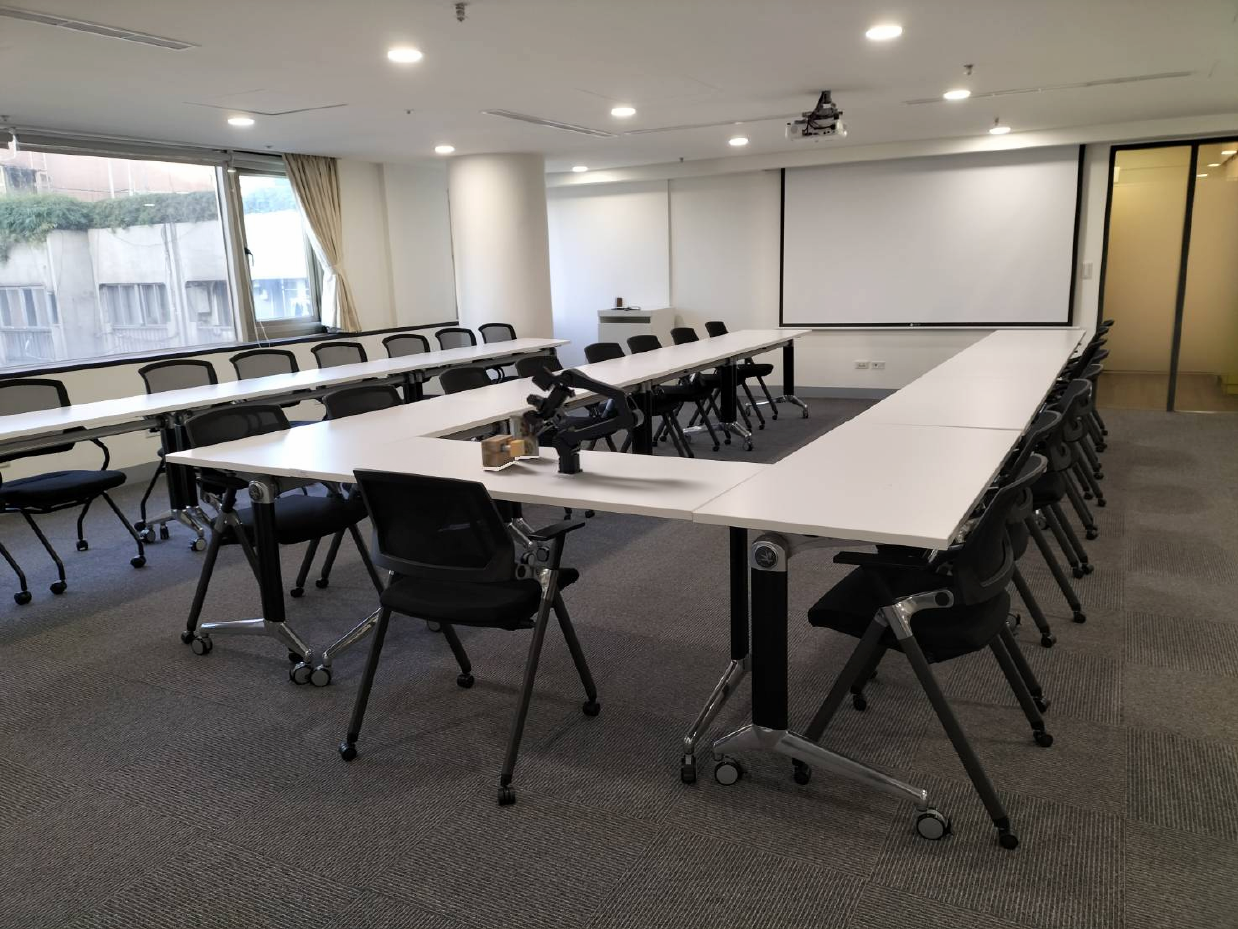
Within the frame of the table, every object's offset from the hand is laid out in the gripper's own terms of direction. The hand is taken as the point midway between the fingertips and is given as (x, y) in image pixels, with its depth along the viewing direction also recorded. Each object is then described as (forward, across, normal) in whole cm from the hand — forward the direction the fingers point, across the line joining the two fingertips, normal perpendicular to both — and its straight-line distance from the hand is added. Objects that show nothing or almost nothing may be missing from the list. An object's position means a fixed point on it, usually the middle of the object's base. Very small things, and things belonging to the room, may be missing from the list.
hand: (533, 435), depth 301 cm
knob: (+10, +2, -2) cm, 11 cm away
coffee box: (+18, -18, -6) cm, 26 cm away
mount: (+18, 0, -4) cm, 19 cm away
